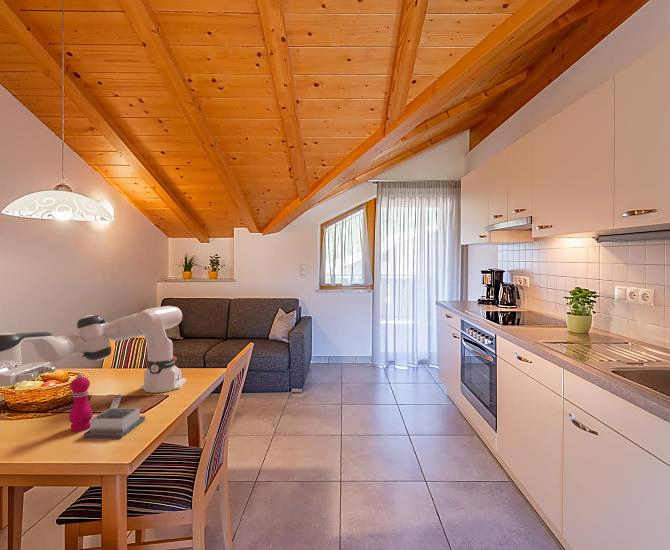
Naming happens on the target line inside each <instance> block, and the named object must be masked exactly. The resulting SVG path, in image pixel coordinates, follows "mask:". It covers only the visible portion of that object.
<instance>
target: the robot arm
mask: <svg viewBox="0 0 670 550" xmlns="http://www.w3.org/2000/svg"><path fill="white" fill-rule="evenodd" d="M107 320H108V319H107V318H104V317H102V316H101V315H98V314H88V315H84V316H83V317H81V318H80V319H78V320H77V323H76V324H77V325H76V326H77V327H76V328H77V329H78V335H76V334H62V335H61V334H60V335H57V336H54V335H53V333H51V332H47V331H31V332H30V331H29V332H28V331H27V332H6V331H5V332H0V388H1V387H10V386H14V385H15V384H18V383H21V382H24V381H28V380H29V381H31V380H35V379H36V378H37V377H38V376H41V375H44V374H46V373H50V374H51V373H52V374H53V373H55V372H56V367H55V366H52V364H55V363H59V362H62V361H64V360H67V359H70V358H72V357H73V356H75V355H77V354H82V355H81V357H82V358H85V359H86V360H89V361H95V362H96V361H98V362H99V361H102V360H104V359H106V358H108V357H109V356H110V355H111V354H112V346H111V344H110V343H111V341H110V340H112V341H114V342H115V341H116V342H117V341H126V340H130V339H134V338H137V337H142V336H144V339H145V342H146V346H147V347H146V348H147V349H146V350H147V359H146V370H145V371H144V373H143V385H142V386H141V388H140V389H141V390H143V391H144V392H146V393H151V394H155V393H157V394H159V393H166V392H171V391H173V390H180V389H181V388H182V387H183V385H185V383H186V382H187V378H185V377H182V370H181V369H180V368H178V366H176V365H175V364H176V361H177V356H174V348H173V346H174V345H173V341H172V339H170V338H168V335H167V333H166V330H168V329H173V328H174V327H176V326H178V325H180V323H181V322H182V320H183V312H182V310H181V309H180V308H179V307H177V306H174V305H173V306H172V305H166V306H165V305H163V306H158V307H157V306H156V307H150V308H146V309H144V310H141V311H139V312H136V313H133V314H130V315H127V316H123V317H120V318H117V319H115V320H113V321H111V322H106V321H107ZM23 343H31V344H32V346H34V347H33V348H34V349H35V352H36V355H37V357H39V358H40V359H41V360H42V361H40V362H39V361H37V362H30V363H26V364H23V357H22V345H23Z"/></svg>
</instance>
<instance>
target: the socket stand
mask: <svg viewBox="0 0 670 550" xmlns="http://www.w3.org/2000/svg"><path fill="white" fill-rule="evenodd" d="M144 420H145V421H146V416H145V415H144V416H141V408H140V407H118V408H110V407H109V408H106V410H104V411H102V412H100V413H99V414H97V415H95V416H94V417H92V418H91V419H90V420H89V421H90V428H89V430H87V431H86V432H84V433H83V438H84V439H123V438H124V437H125V436H126V435H128V434H130V432H132V431H133V430H135V429H136V428H137V427H138V426H140V425H141V424H143V423H144V422H145V421H144ZM143 421H144V422H143ZM139 424H140V425H139ZM135 427H136V428H135ZM132 429H133V430H132ZM131 430H132V431H131ZM127 433H128V434H127ZM123 436H124V437H123ZM122 437H123V438H122Z"/></svg>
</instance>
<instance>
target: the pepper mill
mask: <svg viewBox="0 0 670 550" xmlns="http://www.w3.org/2000/svg"><path fill="white" fill-rule="evenodd" d="M76 377H77V378H74V379H73V380H72V381H71V382H70V385H69V386H70V389H71V391H72V392H71V394H72V397H73V404H72V408H71V410H70V412H69V415H68V420H69V422H70V423H71V425H70V431H71V432H77V431H78V432H83V430H84V431H86V430H87V431H88V429H89V430H90V419H92V418H93V411H92V408H91V406H90V404H89V402H88V395H89V388H90V386H91V382H90V379H88V378H87V377H84V375H83V373H78V374H77V376H76Z"/></svg>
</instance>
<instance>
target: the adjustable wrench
mask: <svg viewBox="0 0 670 550" xmlns="http://www.w3.org/2000/svg"><path fill="white" fill-rule="evenodd" d="M121 400H122V394H116V395H115V396H114V397H113V399H112V403H111V405H110V407H109V408H119V405H120V403H121Z"/></svg>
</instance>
